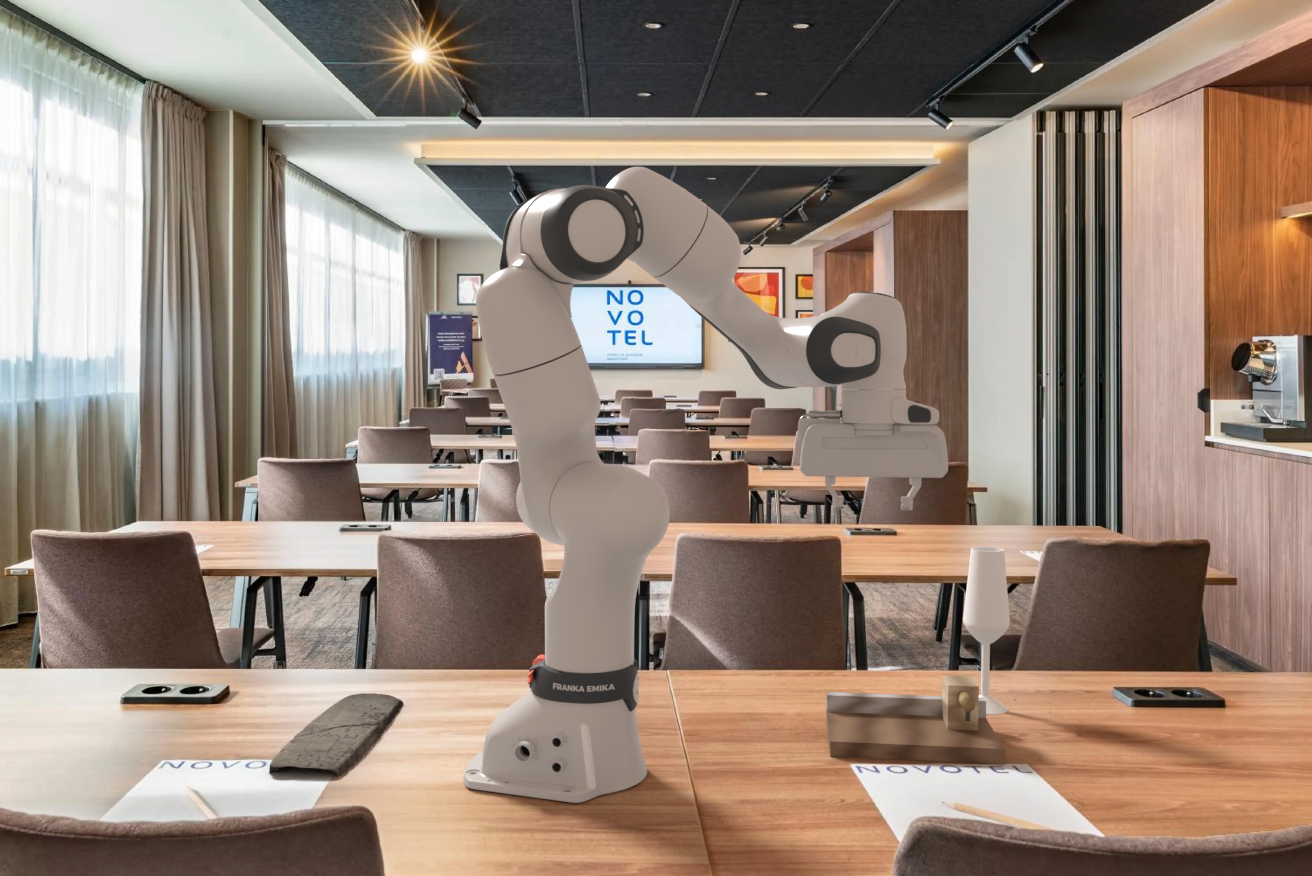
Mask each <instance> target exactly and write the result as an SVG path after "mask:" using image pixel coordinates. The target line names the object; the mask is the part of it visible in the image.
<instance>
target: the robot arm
mask: <svg viewBox="0 0 1312 876" xmlns="http://www.w3.org/2000/svg"><path fill="white" fill-rule="evenodd" d="M504 226H505V227H504V230H503V236H502V237H503V238H502V250H501V256H500V260H499V261H500V262H499V271H496V272H495V273H493V274H492V275H490V276H488V278H487V279H486V280H485V281H484V282H483V283H482V284H481V285H480V286H479V288H478V290H477V293H476V296H475V307H476V313H477V314H476V315H477V320H478V327H479V330H480V334H481V340H482V344H483V347H484V351H485V354H486V357H487V361H488V364H489V367H490V370H491V373H492V376H493V378H494V381H495V384H496V387H497V388H498V389H497V390H498V392H499V395H500V398H501V401H502V404H503V406H504V410H505V413H506V415H507V418H508V420H509V424H510V427H511V428H512V429H511V430H512V433H513V437H514V441H515V446H516V453H517V460H518V470H519V478H520V481H519V484H518V487H517V490H516V494H515V504H516V511H517V514H518V515H519V517H520V519H521V521H522V522H523V524H524V525H525V526H526V527H527V528H529V529H530V530H531V531H532V532H534V533H535V534H536V535H537V536H538V537H540V538H542V539H543V540H545V541H547V542H549V543H551V544H555V545H559V546H563V548H564V556H563V561H562V565H561V569H560V574H559V577H558V580H557V583H556V585H555V587H554V588H553V589H552V590H551V591H550V592H549V593H548V594H547V597H546V598H545V603H544V654H539V655H538V656H536V658H534V660H533V661H532V666H531V667H530V668H529V671H528V674H527V684H528V685H529V689H530V690H528V692H525V694H523V695H522V696H520V697H519V698H518V699H517V700H516V701H514V702H513V703H511V705H510V706H508V707H507V708H506V709H504V710H502V711H501V712H500V713H499V714H498V715H497V716H496V717H495V718H494V719H493V721H492V722H491V724H490V726H489V727H488V730H487V732H486V735H485V739H484V743H483V749H482V750H480V751H479V752H478V753H476V754H475V755H474V756H473V757H472V758H471V759H470V761H469V762H468V763H467V765H466V767H465V769H464V774H463V775H464V776H463V782H464V785H465V786H466V787H467V788H468V789H472V790H478V791H485V792H493V793H500V794H506V795H515V796H521V797H522V796H523V797H528V798H529V797H530V798H536V799H544V800H550V801H559V802H567V803H573V804H577V803H579V804H580V803H583V802H587V801H588V800H591V799H593V798H596V797H599V796H602V795H606V794H612V793H615V792H620V791H623V790H626V789H629V788H632V787H633V786H635V785H638V784H639V783H641V782H642V781H643V780H644V779H645V778H646V776H647V775H648V769H647V768H648V767H647V765H646V762H645V759H644V755H643V750H642V746H641V740H640V734H639V727H638V719H637V709H636V708H637V706H638V702H639V690H640V689H639V688H640V687H639V685H640V683H639V682H640V681H639V671H638V661H637V659H636V658H635V611H636V608H635V607H636V598H637V592H638V587H639V585H640V581H641V577H642V573H643V570H644V566H645V564H646V561H647V559H648V556H649V555H650V553H651V552H652V551H653V550H654V549H655V548H657V546H658V545H659V544H660V543H661V542H662V540H663V539H664V536H666V533H667V531H668V527H669V523H670V515H671V512H670V511H671V510H670V503H669V500H668V499H669V498H668V497H667V494H666V492H665V490H664V488H663V487H662V486H661V485H660V484H659V483H658V482H657V481H656V480H654V479H653V478H651V477H649V476H648V475H645V474H644V473H642V472H640V471H639V470H636V469H634V468H632V467H629V466H625V465H621V464H611V463H603V461H602V459H601V458H600V455H599V452H598V449H597V441H596V420H597V419H598V417H599V415H600V412H601V408H602V407H601V399H600V396H599V392H598V389H597V387H596V383H595V381H594V378H593V374H592V372H591V370H590V365H589V364H588V361H587V358H586V355H585V352H584V348H583V346H582V345H583V344H582V343H581V340H580V338H579V337H580V336H579V334H578V332H577V329H576V327H575V324H574V321H573V319H572V317H573V316H572V311H571V298H572V292H573V291H572V290H573V288H574V285H576V284H581V283H584V282H585V283H586V282H589V281H590V282H593V281H597V280H599V279H603V278H604V277H606V276H608V275H610V274H611V273H613V272H614V271H616V270H617V269H618V268H619V267H621V265H622V264H623V263H624V262H625V261H626V260H629V261H631V262H633V263H635V264H636V265H637V266H638V267H640V268H641V269H642V270H643V271H645V272H646V273H647V274H649V275H650V276H651V277H653V278H654V279H655V280H657V281H658V282H659V283H660V284H662V285H663V286H665V287H666V288H667V289H669V290H670V291H672V292H673V293H674V294H676V295H677V296H678V297H680V298H681V299H682V300H683V301H684V302H685V303H686V304H688V306H689V307H690V308H691V309H692V310H693V311H694V312H695V313H697V314H698V315H699V316H700V317H701V318H702V319H703V320H704V321H706V322H707V324H709V325H710V326H711V327H713V328H714V329H715V330H716V331H717V332H719V334H720V335H722V336H723V337H724V338H725V339H727V340H728V341H729V342H730V343H731V344H733V346H735V348H736V349H737V350H739V352H740V353H741V354H742V356H743V357H744V358H745V360H746V362H747V363H748V365H749V367H750V369H751V370H752V373H754V375H755V376H756V377H757V378H758V380H759V381H760V382H761V383H762V384H764V385H765V386H767V387H770V388H771V389H775V390H788V389H795V388H796V389H797V388H821V387H822V388H823V387H824V388H826V387H829V388H830V387H837V386H841V387H840V388H841V389H840V390H841V392H840V393H841V394H840V395H841V397H840V399H841V401H840V403H841V404H840V405H841V406H840V408H841V409H839V410H838V409H837V410H835V409H834V410H832V409H830V410H818V409H817V410H816V409H815V410H809V411H808V413H804V414H803V415H801V417H799V420H798V422H797V436H798V438H799V441H801V442H802V443H801V450H800V451H801V452H800V460H799V471H800V472H801V473H802V475H804V476H805V477H824V484H825V486H826V488H827V490H828V491H829V493H830V495H831V497H832V510H844V505H845V504H844V499H845V498H844V495H838V494H837V492H836V490H835V489H834V488H833V485H836V479H837V478H841V477H843V478H850V477H851V478H909V479H908V480H909V481H908V482H909V485H910V486H912V487H911V488H910V490H909V492H908V493H907V495H906V496H904V495H903V496H900V502H901V504H900V510H901V511H913V510H914V508H913V507H914V498H915V497H916V496H917V493H918V491H920V489H921V487H922V478H924V479H925V478H927V479H930V478H931V479H932V478H934V479H941V478H944V476H945V475H946V474H947V473H948V472H949V457H948V445H947V440H946V436H945V433H944V431H943V430H942V429H941V428H940V427H939V426H937V424H938V423H939V421H940V411H939V410H938V409H937V408H935V407H933V406H930V405H926V404H922V403H921V402H919V401H918V400H909V399H907V386H906V381H905V377H904V369H905V364H906V361H907V350H908V349H907V348H908V345H907V342H908V341H907V340H908V338H907V324H906V317H905V311H904V308H903V306H902V304H901V301H899V300H898V299H897V298H896V297H894V296H891V295H889V294H886V293H881V292H873V291H872V292H871V291H858V292H854V293H853V292H852V293H850V294H849V295H848V296H847V297H846V299H845V300H844V301H843V302H842V303H840V304H838V305H837V306H835V307H833V308H832V309H830V310H827V311H825V312H822V313H820V314H819V315H813V316H809V317H808V316H807V317H797V318H795V317H794V318H787V317H780V316H779V317H778V316H774V315H772V314H769V313H767V312H766V311H765V310H763V308H761V307H760V306H759V304H757V303H756V302H755V301H754V300H753V299H751V298H750V297H749V296H748V295H747V294H746V293H745V292H744V291H743V290H742V289H741V288H739V287H738V286H737V285H736V284H735V282H734V280H733V279H734V277H736V276H735V275H736V274H737V271H738V269H739V267H740V263H741V256H742V255H741V254H742V253H741V243H740V239H739V236H738V235H737V234H736V232H735V230H733V229H732V227H731V226H730V225H729V223H728V222H727V221H726V220H725V219H724V218H723V217H722V216H721V215H720V214H718V213H717V212H716V211H715V210H714V209H713V208H711V207H710V206H708V205H707V204H706V203H705V202H703V201H702V200H701V199H699V198H698V196H695V195H694V194H693V193H691V192H689V190H687V189H686V188H684V187H682V186H681V185H679V184H677V183H676V182H675V181H673V180H671V179H670V178H668V177H666V176H664V175H662V174H659V173H657V171H656V172H655V171H654V170H652V169H650V168H648V167H644V166H632V167H629V168H626V169H624V170H622V171H621V172H619V173H617V174H616V175H614V176H613V177H612V179H610V181H609V182H608V183H607V185H606V186H604V187H603V186H599V185H598V186H597V185H590V184H581V185H575V186H569V187H567V188H553V189H550V190H546V191H544V192H542V193H539V194H537V195H536V196H533V197H530V198H528V199H526V200H524V201H523V202H521V203H520V204H518V206H517V207H516V208H515V209H514V210H513V211H512V212H511V214H510V215H509V217H508V219H507V220H506V224H505V225H504ZM807 417H808V418H807ZM836 477H837V478H836Z"/></svg>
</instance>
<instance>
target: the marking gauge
mask: <svg viewBox="0 0 1312 876" xmlns="http://www.w3.org/2000/svg"><path fill="white" fill-rule="evenodd" d="M941 688H942V689H941V691H942V695H941V696H942V718H943V721H944V723H945V725H946V727H947V729H955V730H978V705H979V695H980V691H979V690H980V686H979V685H978V683H977V681H976V680H975V678H974V677H973V676H972V675H945V674H943V675H942V687H941Z"/></svg>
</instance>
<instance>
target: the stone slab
mask: <svg viewBox="0 0 1312 876" xmlns="http://www.w3.org/2000/svg"><path fill="white" fill-rule="evenodd" d="M403 704H404V702H403V700H402V699H400V698H398V697H395V696H392V695H389V694H386V693H385V694H383V693H376V692H375V693H370V692H369V693H365V692H364V693H355V694H350V695H347V696H345V697H343V698H341V699H340V700H339V701H337V702H335V703H333V705H331V706H330V707H328V708H327V709H325V710H324V711H323V712H322V713H321V714H319V715H317V717H315V718H314V719H313V720H312V721H311V722H310V723H308V724H307V725H306V726H305V727H304V728H303V729H302V730H301V731H300V732H298V733H296V735H295V736H294V737H293V739H292V738H291V740H289V741H288V742H287V743H286V744H285V745H284V746H283V747H282V748H281V750H279V752H278V753H277V754H275V755H274V757H273V759H272V760H271V762H270V764H269V770H268V771H269V772H268V773H269V774H270V773H273V772H275V771H277V770H280V769H283V768H284V769H285V768H288V767H289V768H290V767H292V768H293V767H295V768H301V769H306V768H307V769H322V770H328V771H330V772H332V773H334V774H335V775H337V777H340V776H342V774H344V773H345V772H347V770H349V769H350V768H351V767H353V766H354V765H355V764H357V762H359V760H360V759H361V758H362V757H363V756H364V755H365V754H366V752H368V751H369V750H370V748H371V747H373V745H374V744H375V743H376V742H377V741H378V740H379V739H380V737H381V735H382V734H384V731H385V730H386V728H387V727H388V726H389V725H390V724H391V723H392V721H393V720H392V719H394V718H395V717H396V716H397V715H398V713H399V712H400V710H401V709H402V707H403V706H404V705H403ZM402 705H403V706H402ZM401 706H402V707H401ZM399 709H400V710H399ZM397 712H398V713H397ZM395 715H396V716H395Z"/></svg>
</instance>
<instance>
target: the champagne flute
mask: <svg viewBox="0 0 1312 876" xmlns="http://www.w3.org/2000/svg"><path fill="white" fill-rule="evenodd" d="M969 554H970V555H969V565H968V573H967V581H966V582H967V583H966V590H965V599H964V608H963V614H962V616H963V617H962V623H963V624H964V627H965V629H966V630H967V631H968V633H970V635H971V636H972V637H973V638H974V639H975V640H976V641H977V642H979V643H980V644H981V671H980V672H981V675H980V676H981V677H980V694H979V698H985V700H986V715H1001V714H1005V713H1007V712H1008V711H1009V708H1008V706H1006V705H1005V704H1003V703H1001V702H1000V701H999V700H997V699H995V698H994V697H993V696H992V695H990V671H991V670H990V663H991V661H990V659H991V657H990V656H991V655H990V653H991V644H993V643H995V642H996V641H997V640H998V639H1000V638H1001V637H1002V636H1003V635H1004V634H1005V633H1006V632H1007V631H1008V629H1009V627H1010V624H1011V621H1010V607H1009V606H1010V605H1009V596H1008V595H1009V594H1008V584H1007V583H1008V582H1007V581H1008V580H1007V571H1006V570H1007V569H1006V559H1005V558H1006V557H1005V549H1004V548H1000V547H994V546H972V547H971V548H970V553H969Z"/></svg>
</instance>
